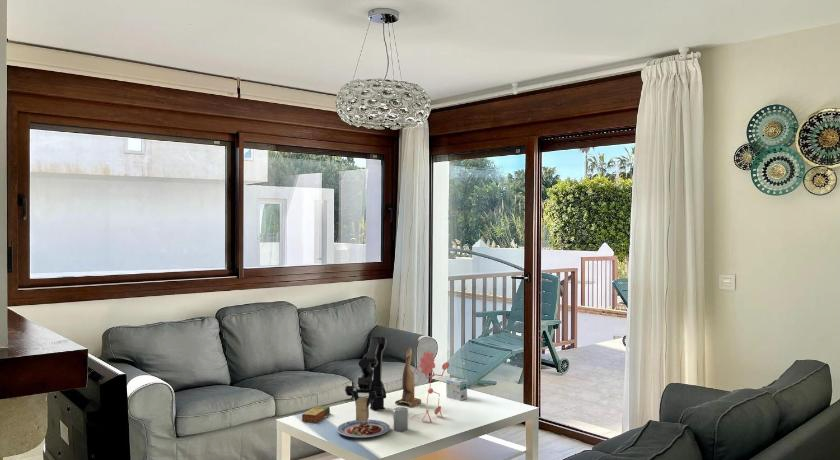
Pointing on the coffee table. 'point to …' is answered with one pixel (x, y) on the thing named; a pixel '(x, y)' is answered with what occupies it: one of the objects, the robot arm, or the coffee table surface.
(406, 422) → the grey tapered cylinder
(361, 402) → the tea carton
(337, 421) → the coffee table surface
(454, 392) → the light bulb box
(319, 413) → the carton
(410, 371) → the bird sculpture
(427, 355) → the figurine
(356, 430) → the ceramic plate
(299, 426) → the coffee table surface
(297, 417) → the coffee table surface
